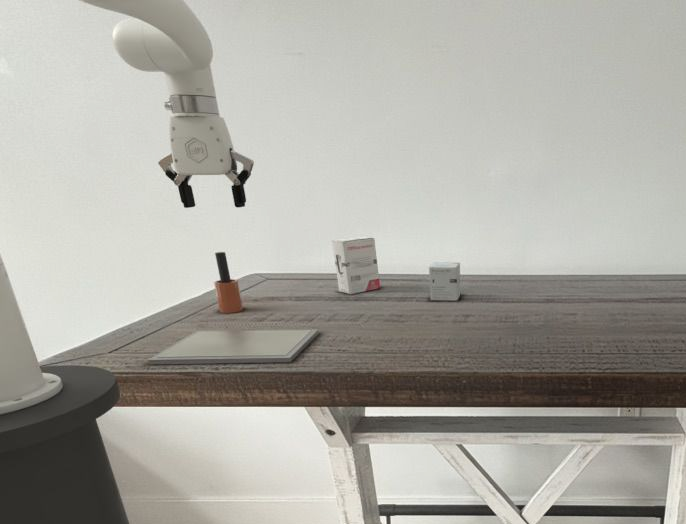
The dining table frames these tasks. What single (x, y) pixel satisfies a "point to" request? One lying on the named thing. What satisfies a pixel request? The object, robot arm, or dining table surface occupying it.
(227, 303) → the pen cup
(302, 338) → the tablet
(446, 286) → the product carton
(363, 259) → the ink box
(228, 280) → the stylus
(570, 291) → the dining table surface
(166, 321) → the dining table surface
